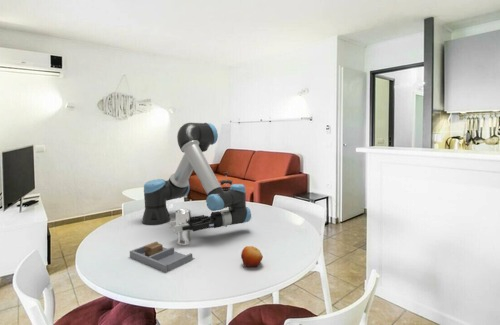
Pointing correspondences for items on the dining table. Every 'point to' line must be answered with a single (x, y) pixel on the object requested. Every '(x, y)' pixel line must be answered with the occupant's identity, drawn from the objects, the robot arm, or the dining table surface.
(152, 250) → the walnut block
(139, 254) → the tray
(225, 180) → the french press
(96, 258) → the dining table surface
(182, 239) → the beer glass
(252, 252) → the fruit
